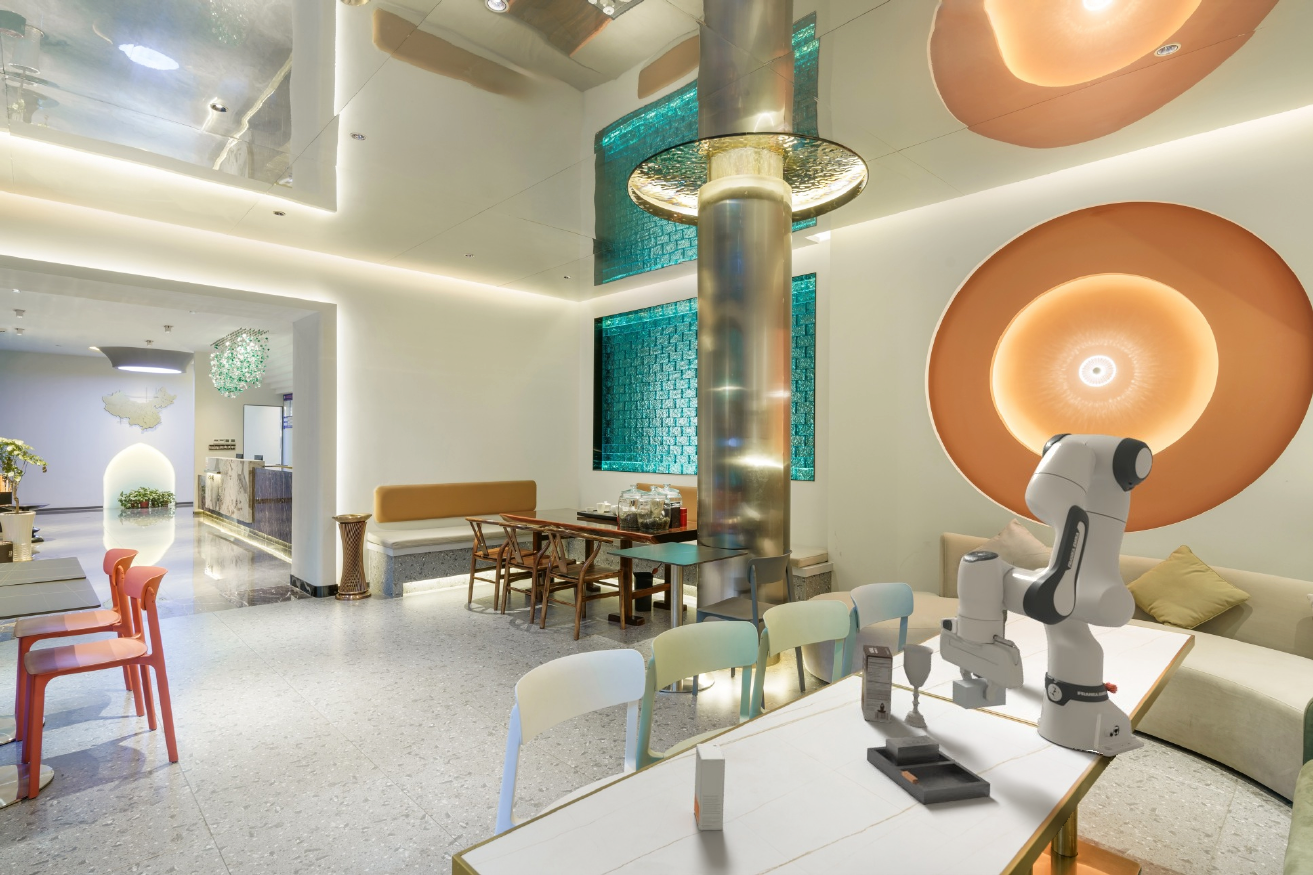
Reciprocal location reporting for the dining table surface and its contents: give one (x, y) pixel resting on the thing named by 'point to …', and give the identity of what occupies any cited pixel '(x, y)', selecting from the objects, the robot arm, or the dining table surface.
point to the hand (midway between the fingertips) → (979, 694)
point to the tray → (926, 770)
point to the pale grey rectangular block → (976, 694)
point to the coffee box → (876, 683)
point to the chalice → (916, 677)
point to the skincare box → (709, 786)
